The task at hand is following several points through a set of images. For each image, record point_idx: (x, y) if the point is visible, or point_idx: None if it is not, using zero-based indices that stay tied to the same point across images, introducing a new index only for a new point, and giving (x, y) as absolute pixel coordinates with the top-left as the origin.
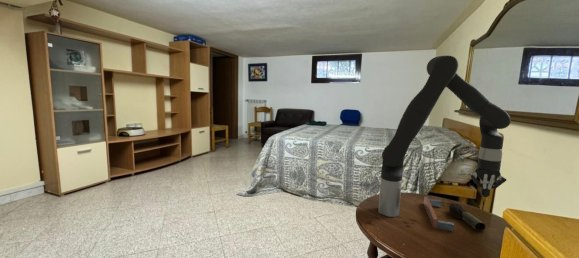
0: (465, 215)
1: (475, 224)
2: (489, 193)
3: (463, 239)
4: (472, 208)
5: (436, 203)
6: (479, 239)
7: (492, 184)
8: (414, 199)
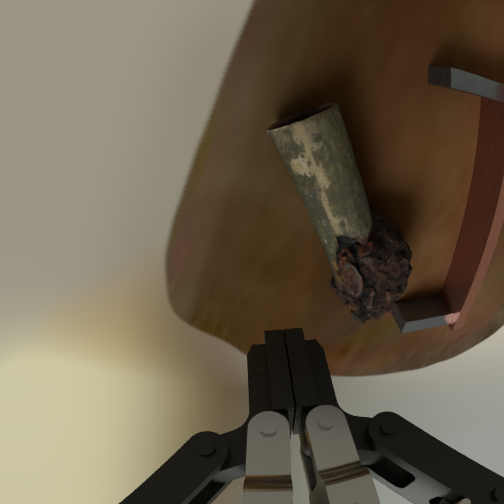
0: (364, 201)
1: (337, 107)
2: (250, 371)
3: (400, 2)
4: None
5: (418, 311)
6: (325, 19)
7: (245, 485)
8: None
